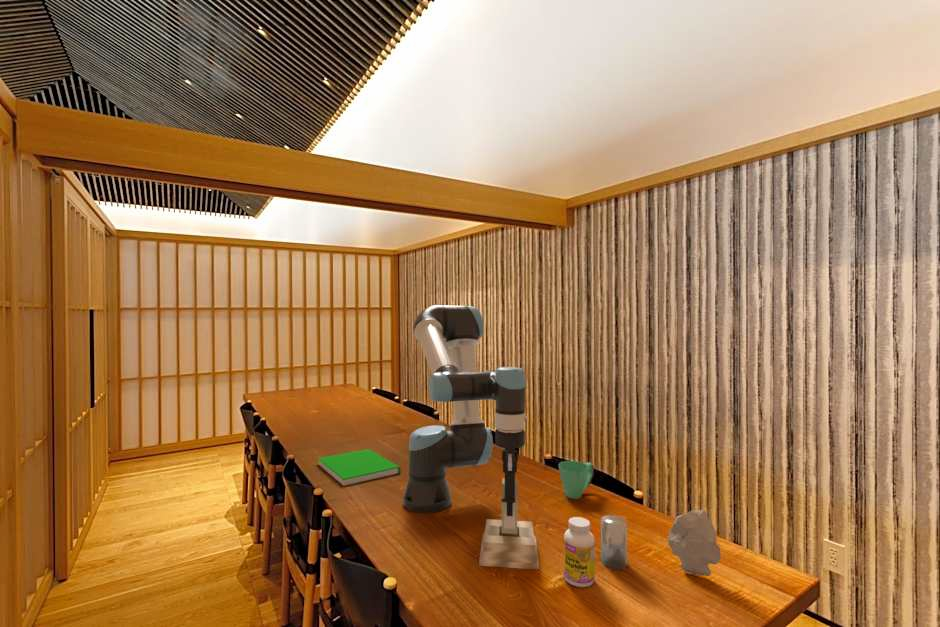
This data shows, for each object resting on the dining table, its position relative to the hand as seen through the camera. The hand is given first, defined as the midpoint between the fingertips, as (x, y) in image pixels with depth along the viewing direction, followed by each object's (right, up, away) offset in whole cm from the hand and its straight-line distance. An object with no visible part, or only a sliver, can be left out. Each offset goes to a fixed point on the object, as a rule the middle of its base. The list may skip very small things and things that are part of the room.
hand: (509, 523), depth 106 cm
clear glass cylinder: (+25, -7, -4) cm, 26 cm away
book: (-54, -9, +59) cm, 81 cm away
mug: (+27, -9, +37) cm, 46 cm away
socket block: (0, -7, 0) cm, 7 cm away
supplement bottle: (+14, -7, -11) cm, 20 cm away
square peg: (0, -2, 0) cm, 2 cm away
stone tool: (+41, -8, -9) cm, 43 cm away
